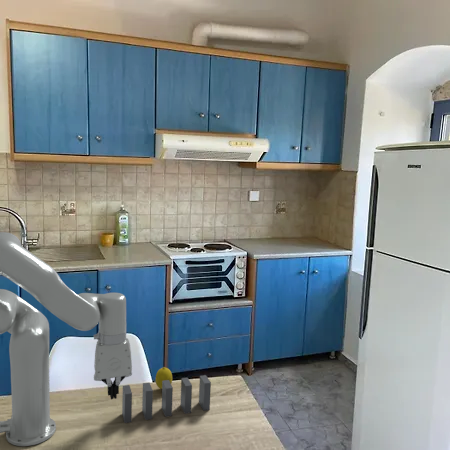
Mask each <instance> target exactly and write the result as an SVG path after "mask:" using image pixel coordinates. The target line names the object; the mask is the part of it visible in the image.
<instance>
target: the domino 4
mask: <svg viewBox="0 0 450 450" xmlns="http://www.w3.org/2000/svg"><path fill="white" fill-rule="evenodd" d="M180 383H181V384H180V385H181V386H180V407H181V408H182V409H181V410H182V411H183V413H184V414H185V415H186V414H191V413H192V397H193V394H192V393H193V384H192V382H191V381H190V379H189V378H188V377H182V378H181V380H180Z"/></svg>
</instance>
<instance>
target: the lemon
mask: <svg viewBox="0 0 450 450" xmlns="http://www.w3.org/2000/svg"><path fill="white" fill-rule="evenodd" d="M164 380H169V381H170V383H171V384H172V383H173V374H172V371H171V370H170V369H169V368H168V367H165V366H163V367H160V368H159V369H158V370H157V372H156V374H155V384H156V386H157V388H159V389H160V390H162V381H164Z"/></svg>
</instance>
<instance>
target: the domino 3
mask: <svg viewBox="0 0 450 450" xmlns="http://www.w3.org/2000/svg"><path fill="white" fill-rule="evenodd" d="M173 389H174V388H173V386H172V383H170V381H169V380H164V381H162V389H161V410H162V412H163V414H164V417H165V418H167V417H172V416H173V393H174V392H173V391H174V390H173Z"/></svg>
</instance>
